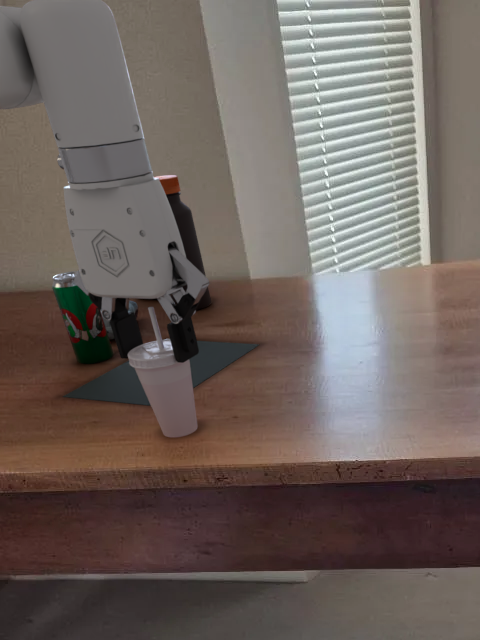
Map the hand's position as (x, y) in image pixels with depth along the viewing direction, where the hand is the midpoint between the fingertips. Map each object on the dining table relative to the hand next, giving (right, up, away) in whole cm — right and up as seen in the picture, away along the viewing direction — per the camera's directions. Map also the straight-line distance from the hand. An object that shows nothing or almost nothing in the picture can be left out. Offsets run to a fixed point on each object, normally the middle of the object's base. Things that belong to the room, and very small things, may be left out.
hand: (159, 354), depth 76 cm
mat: (-6, +3, +22) cm, 23 cm away
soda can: (-19, +6, +28) cm, 35 cm away
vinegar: (-11, +21, +49) cm, 54 cm away
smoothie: (+1, -8, +5) cm, 9 cm away
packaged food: (-20, +12, +38) cm, 45 cm away
